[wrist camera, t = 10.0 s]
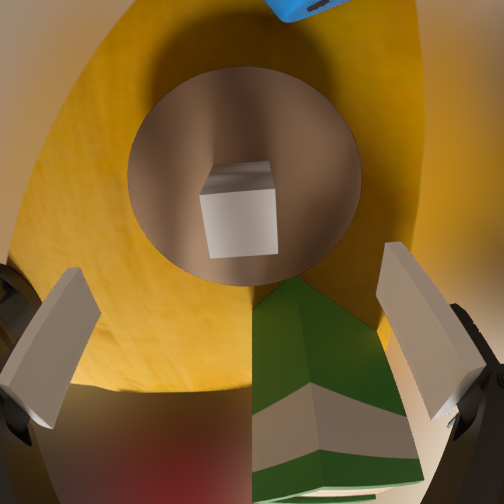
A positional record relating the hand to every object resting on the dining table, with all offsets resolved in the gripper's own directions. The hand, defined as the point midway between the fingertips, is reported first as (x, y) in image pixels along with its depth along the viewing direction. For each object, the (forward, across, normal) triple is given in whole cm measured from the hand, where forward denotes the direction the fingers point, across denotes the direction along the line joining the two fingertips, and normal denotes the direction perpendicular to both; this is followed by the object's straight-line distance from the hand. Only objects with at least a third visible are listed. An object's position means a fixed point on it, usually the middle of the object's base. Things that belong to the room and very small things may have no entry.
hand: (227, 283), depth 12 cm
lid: (+12, +1, 0) cm, 12 cm away
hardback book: (+18, +9, -22) cm, 30 cm away
